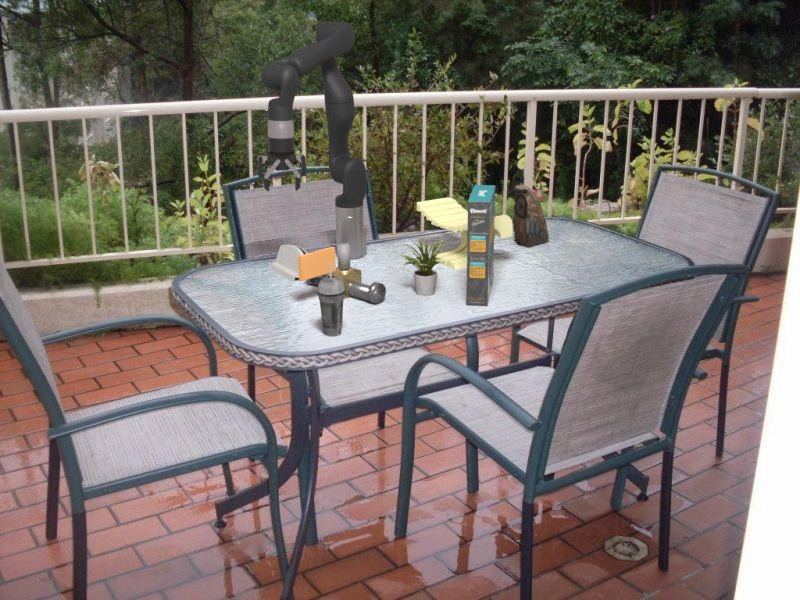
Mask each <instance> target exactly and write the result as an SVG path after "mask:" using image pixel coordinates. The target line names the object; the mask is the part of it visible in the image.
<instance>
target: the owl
mask: <svg viewBox="0 0 800 600" xmlns="http://www.w3.org/2000/svg"><path fill="white" fill-rule="evenodd" d="M513 191H514V194H513V198H514V206H513V218H512V224H513V225H512V230H513V232H514V233H513V234H514V239H513V242H515V244H516V245H517V246H520V247H523V248H528V249H530V248H534V247H538V246H539V245H540V246H541V245H545V244H546V243H549V242H550V241H549V238H550V235H549V231H548V226H547V219H546V218H545V215H544V212H543V208H542V205H541V202H540V199H539V197H538V196H537V194H536V193H535V192H534V190H532V188H530V186H527V185H524V184H523V183H522V182H520V183H519V184H516V185H515V186H514V188H513Z"/></svg>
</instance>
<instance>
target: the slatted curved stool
mask: <svg viewBox="0 0 800 600" xmlns="http://www.w3.org/2000/svg"><path fill="white" fill-rule="evenodd" d="M416 211H417V212H421V216H423V217H426V220H427V221H431V225H433V226H435V227H439V228H441V229H445V230H448V231H450V232H453V233H456V234H457V233H460V235H461V242H460V244H459V246H457V247H456V248H454V249H452V250H448V251H446V252H442V253H438V254H437V256H436V257H435V258H440V259H437V260H436V261H438V262H444V263H445V264H444V263H439V264H441V265H443V266H445V267H448V268H449V269H452V270H460V269H465V268H466V269H467V229H468V209H465V208H463V205H462V204H460V203H458V202H457V200H456V199H454V198H451V197H441V198H435V199H430V200H423V201H417V202H416ZM496 236H497V237H498V238H500V239H507V238H511V237H513V219H512V218H511V217H510V215H508V214H502V215H496V216H495V219H494V239H496Z"/></svg>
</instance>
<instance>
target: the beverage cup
mask: <svg viewBox="0 0 800 600" xmlns="http://www.w3.org/2000/svg"><path fill="white" fill-rule="evenodd" d="M329 274H330V276H326V277H325V278H323V279H322V280H321V281H320V283H319V285H318V286H317V291H316V293H317V298H318V301H319V307H320V315H321V321H322V322H321V323H322V329H323V335H324V336H326V337H338V336H340V335H342V328H343V314H344V313H343V312H344V300H345V299H344V296H345V288H344V285H343V282H342V281H341V280H340V279H339V278H338V277H336V276H332V273H331V261H329Z"/></svg>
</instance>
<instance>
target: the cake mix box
mask: <svg viewBox="0 0 800 600" xmlns="http://www.w3.org/2000/svg"><path fill="white" fill-rule="evenodd" d="M467 211H468V229H467V267H466V295H465V296H466V299H465V303H466V304H465V305H466V306H468V307H469V306H470V307H471V306H472V307H488V306H489V302H490V297H491V294H492V288H493V284H494V258H495V257H494V256H495V255H494V254H495V253H494V251H495V249H494V247H495V238H494V219H495V211H496V185H493V184H491V185H490V184H489V185H488V184H487V185H486V184H474V186H473V189H472V191H471V193H470V196H469V198H468V200H467Z"/></svg>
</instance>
